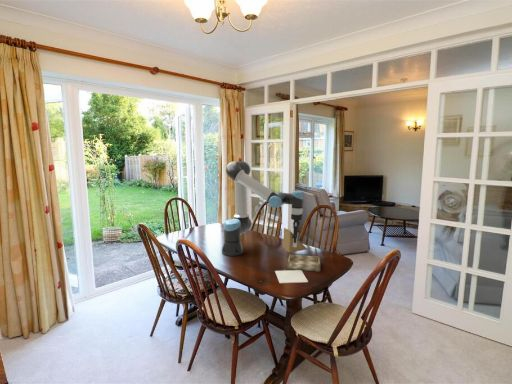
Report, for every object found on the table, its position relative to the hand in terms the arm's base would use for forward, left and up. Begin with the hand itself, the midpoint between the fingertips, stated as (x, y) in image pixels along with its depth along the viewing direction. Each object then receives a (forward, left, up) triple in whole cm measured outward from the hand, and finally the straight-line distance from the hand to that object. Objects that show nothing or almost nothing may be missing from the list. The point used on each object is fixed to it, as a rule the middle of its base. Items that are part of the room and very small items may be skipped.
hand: (295, 244), depth 203 cm
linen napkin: (0, -35, -9) cm, 36 cm away
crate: (+7, -17, -8) cm, 20 cm away
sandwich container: (0, +1, -4) cm, 4 cm away
